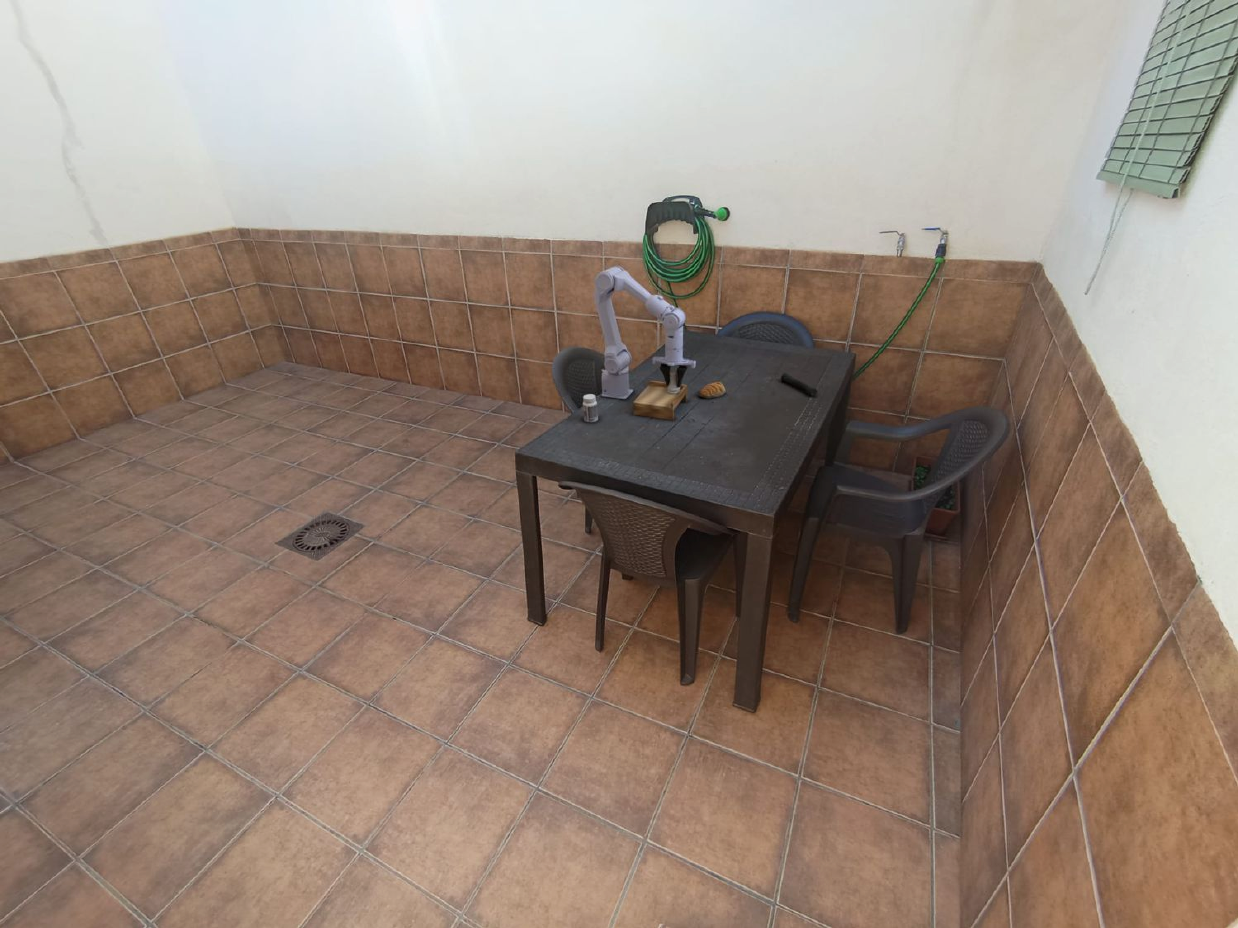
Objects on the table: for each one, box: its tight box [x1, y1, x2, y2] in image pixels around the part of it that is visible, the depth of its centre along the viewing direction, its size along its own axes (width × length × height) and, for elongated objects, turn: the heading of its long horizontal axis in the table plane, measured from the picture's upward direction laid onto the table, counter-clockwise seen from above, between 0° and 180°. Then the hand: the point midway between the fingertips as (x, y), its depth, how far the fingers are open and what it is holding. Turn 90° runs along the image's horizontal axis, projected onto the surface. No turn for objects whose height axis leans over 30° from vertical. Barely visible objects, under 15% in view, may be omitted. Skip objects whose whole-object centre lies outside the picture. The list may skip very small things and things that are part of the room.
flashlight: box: [780, 372, 818, 397], centre depth 201 cm, size 3×16×3 cm, turn 23°
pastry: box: [699, 381, 726, 399], centre depth 199 cm, size 9×7×4 cm
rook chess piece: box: [667, 368, 680, 394], centre depth 190 cm, size 4×4×8 cm
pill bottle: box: [582, 393, 599, 423], centre depth 185 cm, size 5×5×8 cm
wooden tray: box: [632, 380, 688, 421], centre depth 191 cm, size 14×16×6 cm
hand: (673, 385), depth 191 cm, fingers closed on rook chess piece, 3 cm apart
